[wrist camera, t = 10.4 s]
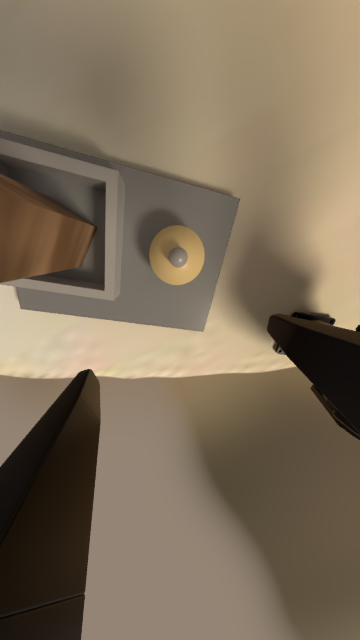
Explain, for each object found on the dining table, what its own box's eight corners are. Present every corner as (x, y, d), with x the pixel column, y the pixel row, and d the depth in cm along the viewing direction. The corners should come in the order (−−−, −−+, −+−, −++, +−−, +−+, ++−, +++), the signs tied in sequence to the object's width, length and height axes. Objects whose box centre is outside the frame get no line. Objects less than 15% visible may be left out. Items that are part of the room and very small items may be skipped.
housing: (235, 201, 16) (257, 187, 12) (201, 328, 21) (209, 344, 17) (-3, 134, 12) (-72, 86, 9) (27, 305, 18) (-7, 320, 14)
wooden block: (97, 227, 15) (-45, 176, 5) (81, 266, 16) (-61, 295, 6) (49, 197, 13) (-286, 37, 3) (36, 241, 14) (-245, 223, 4)
